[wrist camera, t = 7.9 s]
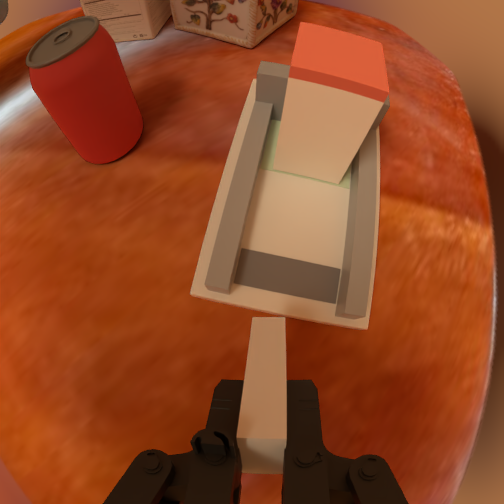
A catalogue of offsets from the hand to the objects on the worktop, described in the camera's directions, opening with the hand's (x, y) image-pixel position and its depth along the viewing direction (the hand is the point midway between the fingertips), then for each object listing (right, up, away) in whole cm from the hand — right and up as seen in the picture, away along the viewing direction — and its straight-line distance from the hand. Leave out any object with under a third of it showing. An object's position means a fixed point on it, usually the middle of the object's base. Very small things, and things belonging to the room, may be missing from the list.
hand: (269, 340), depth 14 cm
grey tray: (+3, +9, +9) cm, 13 cm away
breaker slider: (+4, +12, +8) cm, 15 cm away
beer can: (-14, +15, +10) cm, 22 cm away
